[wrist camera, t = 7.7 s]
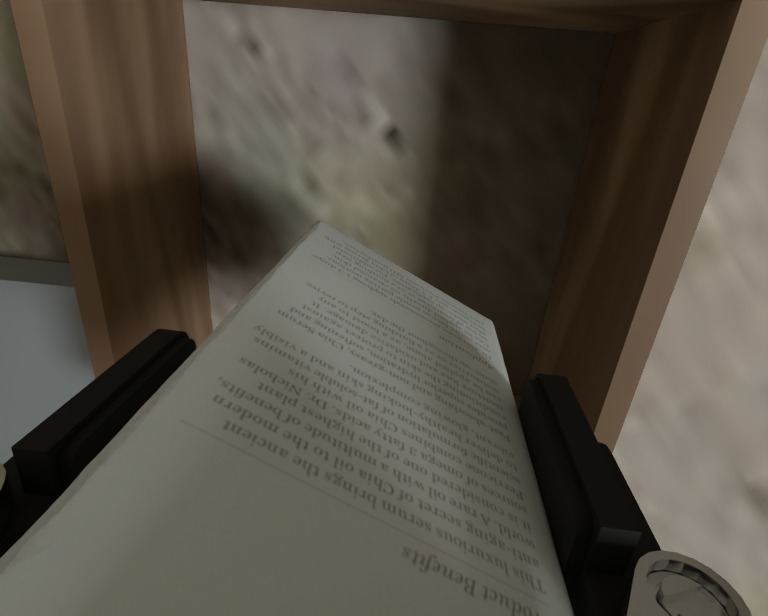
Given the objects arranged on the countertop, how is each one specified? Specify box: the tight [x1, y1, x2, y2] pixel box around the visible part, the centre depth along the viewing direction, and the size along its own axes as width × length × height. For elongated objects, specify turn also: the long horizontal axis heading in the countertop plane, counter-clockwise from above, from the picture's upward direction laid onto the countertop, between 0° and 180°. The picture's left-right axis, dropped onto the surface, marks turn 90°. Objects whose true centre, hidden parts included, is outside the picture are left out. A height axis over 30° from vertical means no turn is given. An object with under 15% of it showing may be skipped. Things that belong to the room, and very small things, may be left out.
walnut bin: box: [10, 0, 768, 453], centre depth 17 cm, size 18×18×8 cm
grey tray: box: [0, 256, 95, 465], centre depth 25 cm, size 16×16×2 cm
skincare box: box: [0, 221, 574, 616], centre depth 9 cm, size 6×4×12 cm
